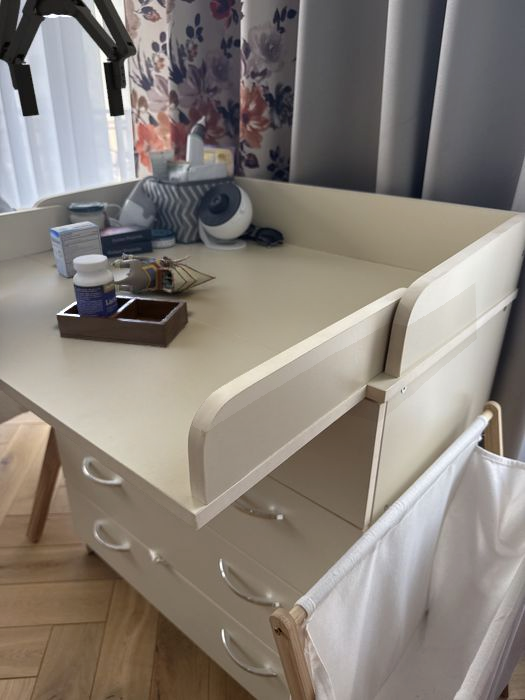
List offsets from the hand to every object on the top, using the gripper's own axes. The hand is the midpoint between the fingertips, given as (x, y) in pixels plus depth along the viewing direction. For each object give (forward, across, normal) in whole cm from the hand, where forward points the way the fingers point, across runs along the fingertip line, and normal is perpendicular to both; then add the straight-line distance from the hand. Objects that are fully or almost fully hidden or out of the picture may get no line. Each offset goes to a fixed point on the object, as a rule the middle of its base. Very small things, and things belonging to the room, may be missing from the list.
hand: (73, 116), depth 76 cm
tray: (+29, -8, +8) cm, 31 cm away
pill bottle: (+28, -4, +8) cm, 30 cm away
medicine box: (+29, +13, -15) cm, 35 cm away
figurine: (+29, -7, -9) cm, 31 cm away
